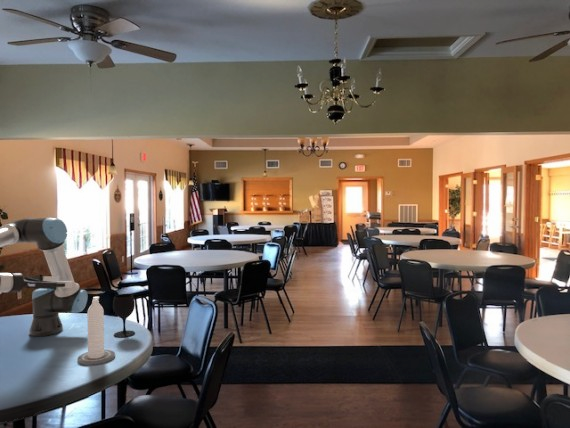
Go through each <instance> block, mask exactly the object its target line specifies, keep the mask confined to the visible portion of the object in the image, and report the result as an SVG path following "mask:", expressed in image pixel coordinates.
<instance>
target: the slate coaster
mask: <svg viewBox="0 0 570 428" xmlns="http://www.w3.org/2000/svg"><path fill="white" fill-rule="evenodd" d="M115 358H116V353H115V352H114V351H113V350H112V349H111V350H110V349H104V356H103V357H101V358H97V359H90V358H88V351H87V352H83V353H82V354H80V355H79V356H78V357H77V358H76V360H77V364H79V365H81V366H99V365H104V364H107V363H109V362H111V361H112V360H114V359H115Z"/></svg>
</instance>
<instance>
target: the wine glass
mask: <svg viewBox="0 0 570 428" xmlns="http://www.w3.org/2000/svg"><path fill="white" fill-rule="evenodd" d="M135 303H136V302H135V298H134V295H133V294H131V293H121V294H116V295H115V296H114V297H113V301H112V309H113V312H114V314H115V315H116V316H117V318H120V319H121V320H122V325H123V328H122V330H120V331H117V332H115V333H114V334H113V337H114V338H116V339H117V338H118V339H120V338H121V339H123V338H130V337H133V336H134V335H135V334H136V331H134V330H127V329H126V320H127V319H128V318H129V317H130V316H131V315H132V314H133V312H134V311H135V305H136V304H135Z"/></svg>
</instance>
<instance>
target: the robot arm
mask: <svg viewBox="0 0 570 428" xmlns="http://www.w3.org/2000/svg"><path fill="white" fill-rule="evenodd" d="M67 228H68V227H67V226H66V224H65V221H63V220H61V219H60V218H55V217H26V218H21V219H17V220H14V221H11V222H8V223H6V224H5V223H4V224H3V225H1V226H0V248H2V247H4V246H7V245H8V246H10V245H11V246H12V245H15V244H18V243H27V244H28V243H35V244H36V247H37V248H38V250H40V251H42V252H43V254H44V258H45V260H46V262H47V265H48V269H49V272H50V274H51V275H50V276H48V275H46V276H43V274H39V275H30V276H24V275H23V273H21V272H15V273H14V272H11V273H10V272H0V295H2V293H9V292H10V293H20V292H22V290H23V288H27V289H34V290H33V291H32V294H31V295H32V296H31V300H32V301H31V303H32V321H31V324H30V328H29V335H30V336H33V337H45V336H46V337H47V336H51V335H56V334H58V333H60V332H62V331H63V329H64V328H63V327H64V326H63V323H62V320H61V318H60V316H59V313H63V314H64V313H68V314H70V313H72V314H74V313H75V314H76V313H81V312H83V310H85V308H86V306H87V303H88V297H89V295H88V292H87V290H86V289H81V287H80V284H79V283H77V282H75V279H74V277H73V274H72V269H71V268H70V264H69V262H68V261H69V260H68V258H67V255H66V252H65V249H64V246H63V245H64V244H65V241H66V239H67V236H68V234H67V233H68V229H67Z"/></svg>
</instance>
